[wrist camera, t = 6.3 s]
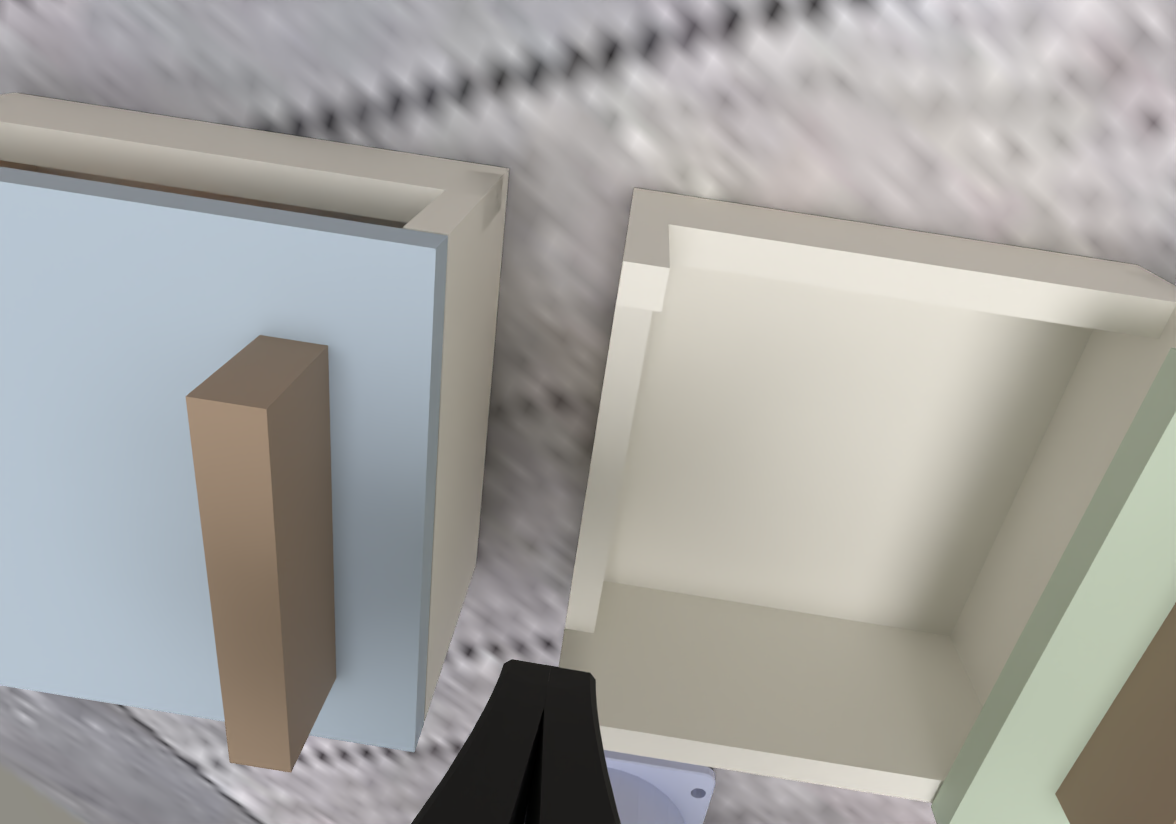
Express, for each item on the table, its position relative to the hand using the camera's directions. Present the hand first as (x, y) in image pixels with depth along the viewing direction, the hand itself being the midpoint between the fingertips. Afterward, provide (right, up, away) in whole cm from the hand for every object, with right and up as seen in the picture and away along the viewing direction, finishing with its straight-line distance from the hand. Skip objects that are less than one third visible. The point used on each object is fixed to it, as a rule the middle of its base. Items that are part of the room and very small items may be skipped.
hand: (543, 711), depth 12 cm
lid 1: (-8, +3, +4) cm, 10 cm away
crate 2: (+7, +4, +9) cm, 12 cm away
